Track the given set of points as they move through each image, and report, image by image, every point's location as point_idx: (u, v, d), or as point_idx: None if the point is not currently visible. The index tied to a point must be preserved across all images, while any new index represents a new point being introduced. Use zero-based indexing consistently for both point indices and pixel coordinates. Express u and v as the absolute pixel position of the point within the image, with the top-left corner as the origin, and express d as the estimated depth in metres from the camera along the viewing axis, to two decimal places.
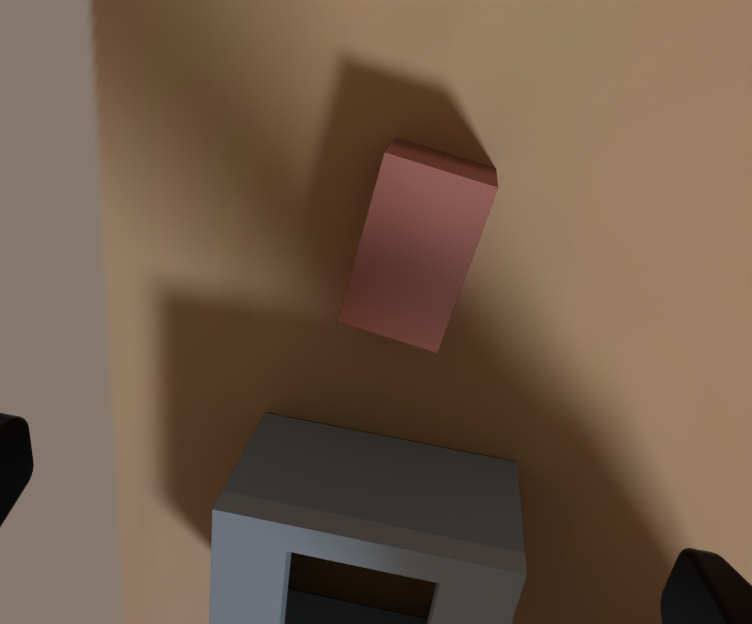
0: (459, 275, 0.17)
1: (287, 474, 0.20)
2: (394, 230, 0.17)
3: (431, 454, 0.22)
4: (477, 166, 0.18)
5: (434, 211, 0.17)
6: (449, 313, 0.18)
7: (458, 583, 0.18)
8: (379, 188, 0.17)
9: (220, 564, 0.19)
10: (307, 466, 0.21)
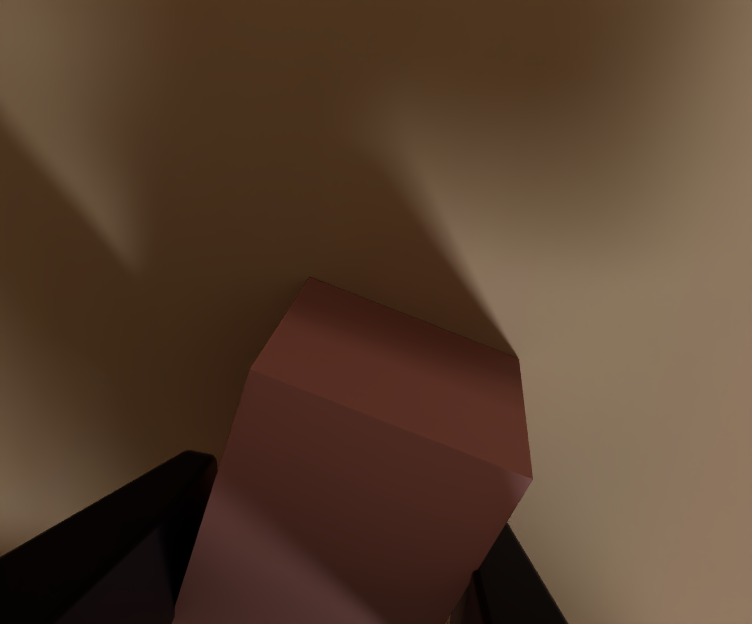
0: None
1: None
2: (274, 533, 0.07)
3: None
4: (480, 370, 0.08)
5: (371, 508, 0.07)
6: None
7: None
8: (238, 445, 0.07)
9: None
10: None
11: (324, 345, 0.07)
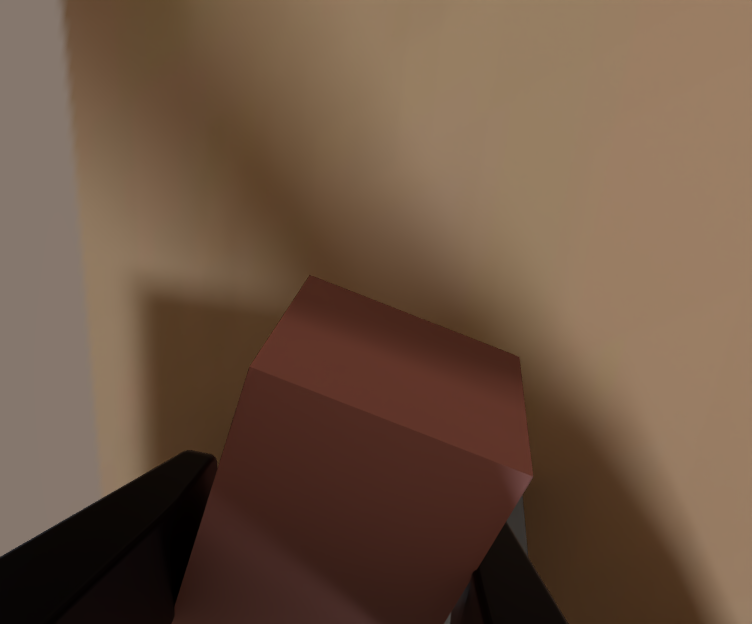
0: None
1: None
2: (274, 530, 0.07)
3: None
4: (481, 368, 0.08)
5: (372, 505, 0.07)
6: None
7: None
8: (238, 443, 0.07)
9: None
10: None
11: (324, 342, 0.07)
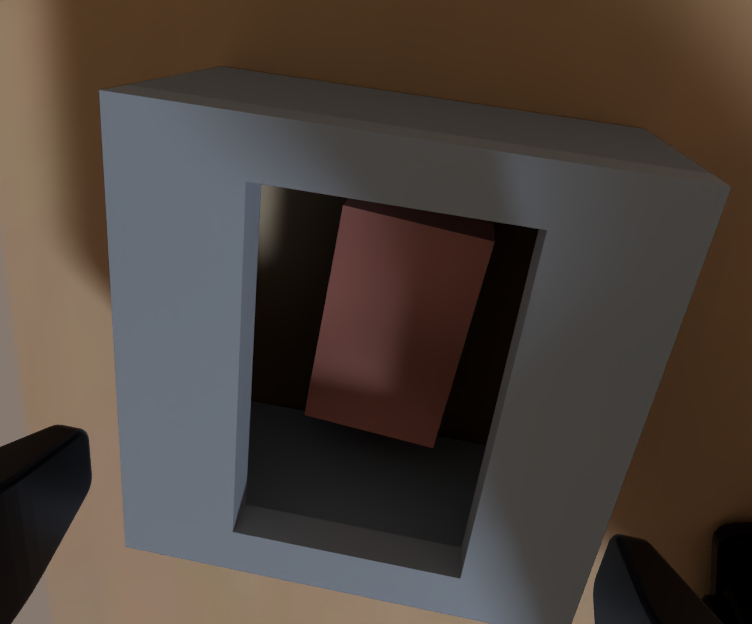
0: (453, 353, 0.13)
1: (252, 91, 0.11)
2: (364, 302, 0.13)
3: (502, 110, 0.13)
4: None
5: (414, 276, 0.13)
6: (444, 400, 0.14)
7: (585, 225, 0.09)
8: (340, 251, 0.13)
9: (124, 229, 0.10)
10: (289, 92, 0.12)
11: None
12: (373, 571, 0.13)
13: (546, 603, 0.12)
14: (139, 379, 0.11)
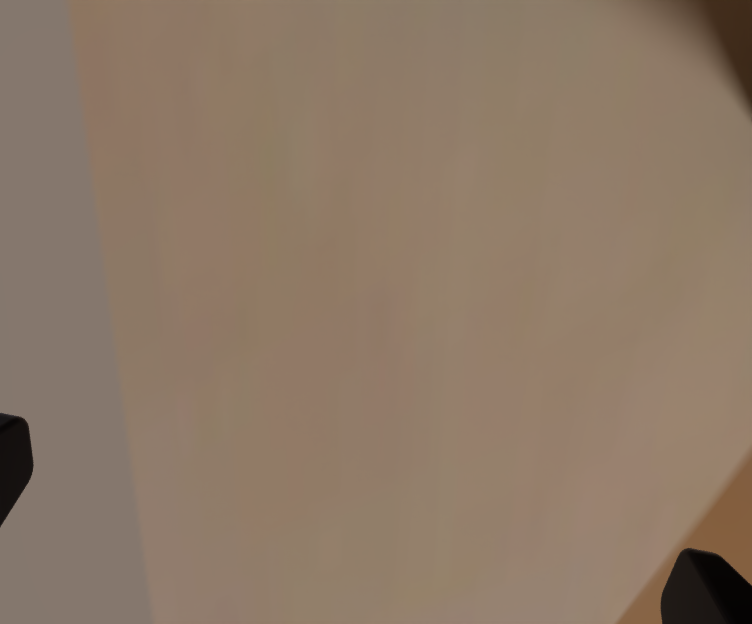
0: None
1: None
2: None
3: None
4: None
5: None
6: None
7: None
8: None
9: None
10: None
11: None
12: None
13: None
14: None
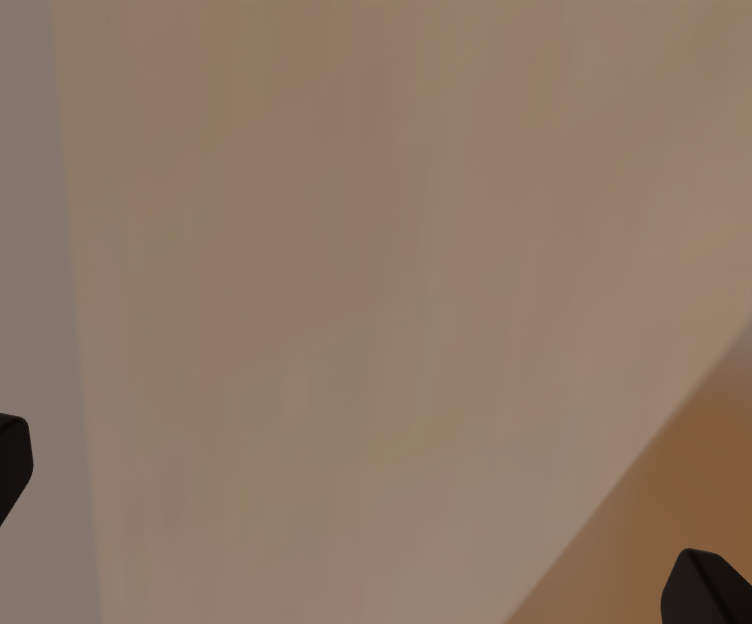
0: None
1: None
2: None
3: None
4: None
5: None
6: None
7: None
8: None
9: None
10: None
11: None
12: None
13: None
14: None
